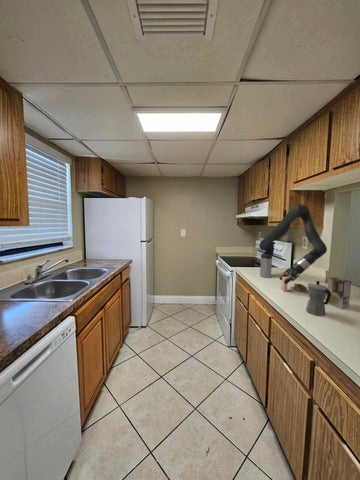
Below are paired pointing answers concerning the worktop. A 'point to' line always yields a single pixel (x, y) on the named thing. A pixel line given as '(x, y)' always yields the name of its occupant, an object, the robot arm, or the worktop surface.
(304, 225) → the robot arm
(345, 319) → the worktop surface
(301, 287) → the holder
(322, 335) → the worktop surface
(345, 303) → the coffee box
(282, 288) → the salmon pink brick
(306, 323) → the worktop surface
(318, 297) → the coffeepot
